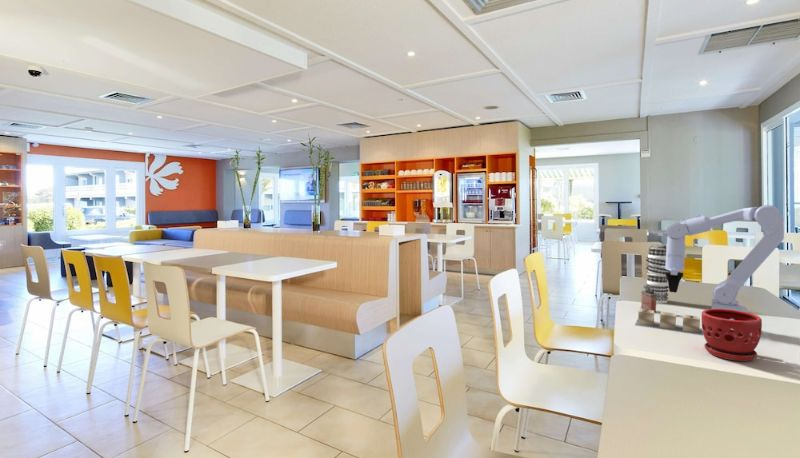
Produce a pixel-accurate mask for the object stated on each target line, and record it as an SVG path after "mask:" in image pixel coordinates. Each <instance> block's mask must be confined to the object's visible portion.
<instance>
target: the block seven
mask: <svg viewBox="0 0 800 458" xmlns="http://www.w3.org/2000/svg"><path fill="white" fill-rule="evenodd" d="M637 314H638V317H637V319H638V324H641V325H648V326H653V324H654V322H655V313H654V311H652V310H645V309H641V308H639V309H638V313H637Z"/></svg>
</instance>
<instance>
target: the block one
mask: <svg viewBox="0 0 800 458" xmlns="http://www.w3.org/2000/svg"><path fill="white" fill-rule="evenodd" d="M700 325H701V318H700V316H697V315H691V314H683V315H682V326H683V331H689V332H695V333H699V330H700V328H701V326H700Z"/></svg>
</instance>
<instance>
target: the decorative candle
mask: <svg viewBox="0 0 800 458" xmlns="http://www.w3.org/2000/svg"><path fill="white" fill-rule="evenodd" d="M666 246H667V244H656V243H655V244H651V245H650V246H649V247H648V254H647V256H646V259H645V261H646V262H647V263H645V264H646V267H645V269H646V270H647V271H646V274H647V280H646V284H645V285H646V286H650V287H653V288H654V293H655V294H657V297H656V304H657V303H660V304H665V303H666V304H667V303H668V299H669V297H668V296H669V294H668V292H669V285H668V280H667V277H666V275H665V272H670V271H669V270H667V269H665V268H662V266H665V264H666Z"/></svg>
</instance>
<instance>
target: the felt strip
mask: <svg viewBox="0 0 800 458" xmlns="http://www.w3.org/2000/svg"><path fill="white" fill-rule="evenodd" d="M634 326H638V327H644V328H651V329H657V330H664V331H671V332H676V333H685V334H689V335H690V334H691V335H697V336H703V330H702V327H700V330H699V333H695V332H689V331H683V325H679V324H676V330H675V329H668V328H662V327H660V321H659V322H658V321H654V324H653V326H648V325H641V324H638V318H637V319H636V320H635V323H634Z"/></svg>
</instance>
